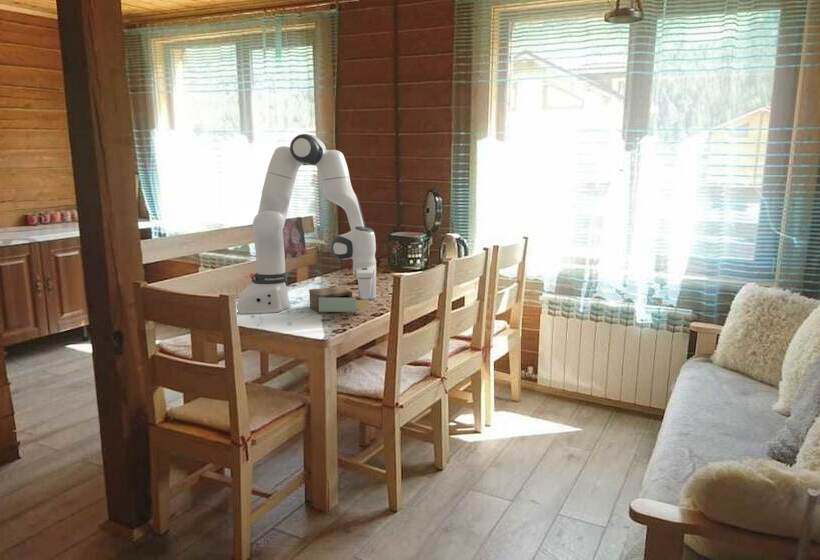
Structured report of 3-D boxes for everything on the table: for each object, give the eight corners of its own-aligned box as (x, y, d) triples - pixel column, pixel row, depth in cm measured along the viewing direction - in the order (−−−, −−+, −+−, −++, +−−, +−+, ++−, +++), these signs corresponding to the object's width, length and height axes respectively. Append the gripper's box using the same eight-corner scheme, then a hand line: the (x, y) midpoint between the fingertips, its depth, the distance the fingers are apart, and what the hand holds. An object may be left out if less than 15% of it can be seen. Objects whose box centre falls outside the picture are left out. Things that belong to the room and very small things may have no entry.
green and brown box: (317, 313, 241) (317, 295, 239) (309, 306, 252) (309, 289, 251) (352, 309, 246) (352, 292, 245) (343, 303, 257) (342, 286, 256)
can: (373, 301, 261) (373, 272, 259) (356, 300, 263) (355, 272, 261) (378, 297, 269) (377, 269, 266) (361, 296, 270) (360, 269, 268)
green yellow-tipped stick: (318, 311, 240) (318, 298, 239) (319, 311, 240) (318, 297, 239) (368, 311, 239) (368, 298, 238) (368, 311, 240) (368, 297, 239)
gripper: (356, 265, 249) (357, 299, 251) (356, 274, 229) (356, 311, 231) (372, 264, 249) (372, 298, 252) (373, 274, 229) (373, 310, 232)
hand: (365, 304), depth 241 cm, fingers closed
